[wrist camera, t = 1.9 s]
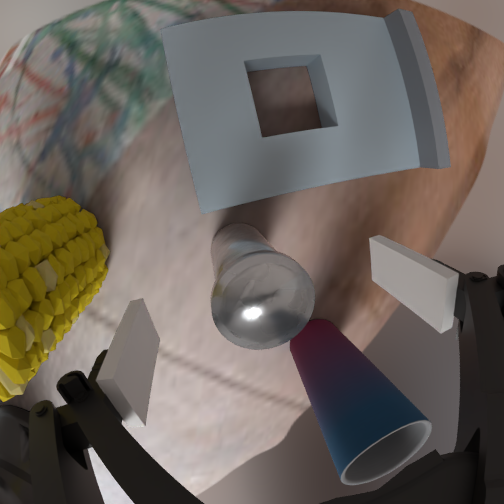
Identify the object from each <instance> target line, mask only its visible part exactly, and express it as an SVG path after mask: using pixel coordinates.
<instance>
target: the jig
mask: <svg viewBox="0 0 504 504" xmlns="http://www.w3.org/2000/svg"><path fill="white" fill-rule="evenodd" d="M160 30H161V35H162V40H163V46H164V51H165V56H166V61H167V66H168V71H169V76H170V81H171V86H172V91H173V95H174V100H175V105H176V109H177V114H178V118H179V123H180V127H181V132H182V136H183V140H184V145H185V149H186V153H187V157H188V162H189V166H190V170H191V174H192V178H193V182H194V186H195V190H196V194H197V198H198V202H199V206H200V210H201V213H202V214H205V213H209V212H213V211H216V210H220V209H224V208H228V207H232V206H236V205H240V204H244V203H248V202H252V201H256V200H260V199H265V198H269V197H273V196H277V195H282V194H286V193H291V192H295V191H299V190H304V189H309V188H313V187H318V186H323V185H327V184H332V183H337V182H342V181H347V180H352V179H357V178H362V177H367V176H373V175H378V174H384V173H389V172H395V171H401V170H407V169H412V168H419V167H423V168H434V169H442V168H448V167H451V165H450V156H449V148H448V141H447V135H446V129H445V123H444V118H443V113H442V108H441V103H440V98H439V94H438V90H437V86H436V82H435V78H434V74H433V71H432V67H431V64H430V60H429V57H428V54H427V51H426V48H425V45H424V42H423V39H422V36H421V33H420V31H419V28H418V25H417V23H416V20H415V18H414V15H413V13H412V12H410V11H406V10H402V9H397V10H396V11H394V12H392V13H391V14H389V15H388V16H386V17H384V18H380V17H374V16H366V15H358V14H348V13H337V12H318V11H278V12H260V13H248V14H238V15H230V16H222V17H215V18H209V19H203V20H198V21H193V22H188V23H183V24H178V25H174V26H170V27H166V28H162V29H160ZM297 66H307V69H308V73H309V76H310V80H311V84H312V88H313V92H314V96H315V100H316V104H317V108H318V113H319V117H320V121H321V126H322V128H319V129H312V130H305V131H299V132H292V133H286V134H280V135H275V136H269V137H264V138H262V135H261V130H260V126H259V122H258V117H257V113H256V109H255V105H254V101H253V96H252V92H251V88H250V84H249V80H248V76H247V72H251V71H258V70H266V69H275V68H285V67H297Z"/></svg>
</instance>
